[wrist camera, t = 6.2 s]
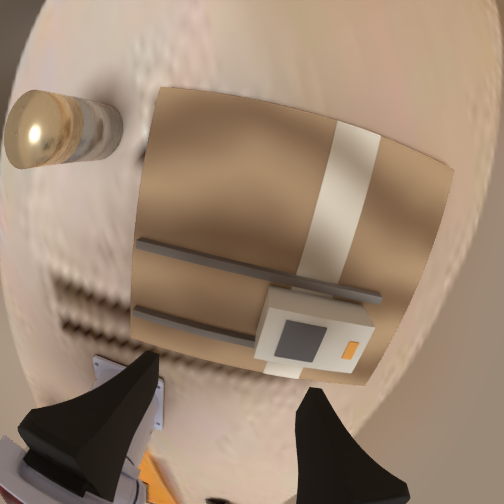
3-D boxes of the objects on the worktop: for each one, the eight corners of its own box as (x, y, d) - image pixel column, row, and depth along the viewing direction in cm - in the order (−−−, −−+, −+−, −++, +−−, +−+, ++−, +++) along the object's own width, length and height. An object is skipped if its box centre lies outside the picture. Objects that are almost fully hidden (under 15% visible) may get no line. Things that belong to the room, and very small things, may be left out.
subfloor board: (361, 377, 23) (366, 391, 21) (136, 329, 23) (127, 342, 21) (445, 168, 17) (459, 170, 15) (166, 90, 16) (156, 84, 15)
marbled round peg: (117, 163, 18) (43, 172, 11) (74, 157, 18) (0, 166, 11) (128, 105, 17) (58, 86, 9) (83, 104, 17) (11, 93, 9)
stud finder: (343, 348, 20) (351, 374, 17) (255, 332, 20) (253, 359, 17) (362, 305, 19) (375, 328, 16) (269, 285, 19) (269, 308, 16)
